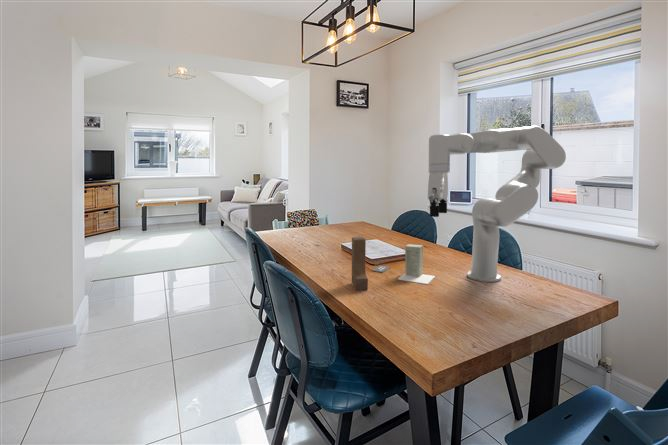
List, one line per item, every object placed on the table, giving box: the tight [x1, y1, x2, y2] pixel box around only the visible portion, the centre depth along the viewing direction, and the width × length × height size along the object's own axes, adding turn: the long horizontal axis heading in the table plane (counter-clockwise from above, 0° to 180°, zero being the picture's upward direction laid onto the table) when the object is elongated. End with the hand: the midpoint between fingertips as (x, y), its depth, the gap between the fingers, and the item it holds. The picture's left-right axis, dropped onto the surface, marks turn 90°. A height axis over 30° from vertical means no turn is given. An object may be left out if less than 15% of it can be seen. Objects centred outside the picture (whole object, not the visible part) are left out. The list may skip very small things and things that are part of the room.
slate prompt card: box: [371, 265, 391, 274], centre depth 156 cm, size 8×5×1 cm, turn 149°
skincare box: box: [404, 243, 424, 277], centre depth 147 cm, size 6×4×12 cm
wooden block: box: [351, 236, 369, 292], centre depth 133 cm, size 9×4×18 cm, turn 7°
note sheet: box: [397, 273, 436, 285], centre depth 144 cm, size 11×12×1 cm
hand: (438, 214), depth 136 cm, fingers open, 9 cm apart
